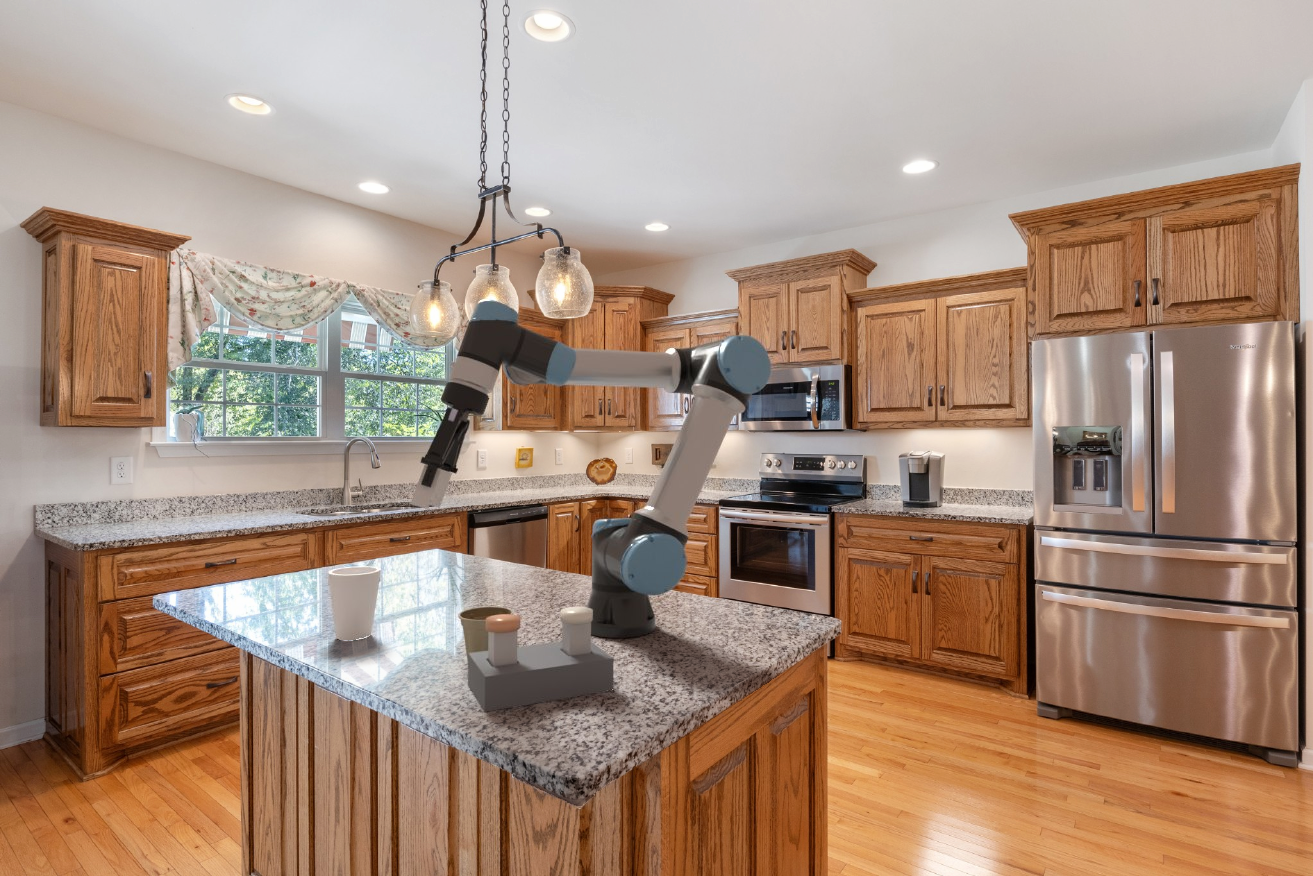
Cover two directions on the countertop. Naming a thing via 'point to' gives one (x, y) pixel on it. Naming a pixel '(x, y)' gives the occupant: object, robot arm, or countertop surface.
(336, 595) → the foam cup
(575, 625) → the cream plunger
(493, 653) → the terracotta plunger
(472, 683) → the block
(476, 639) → the flower pot
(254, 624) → the countertop surface
